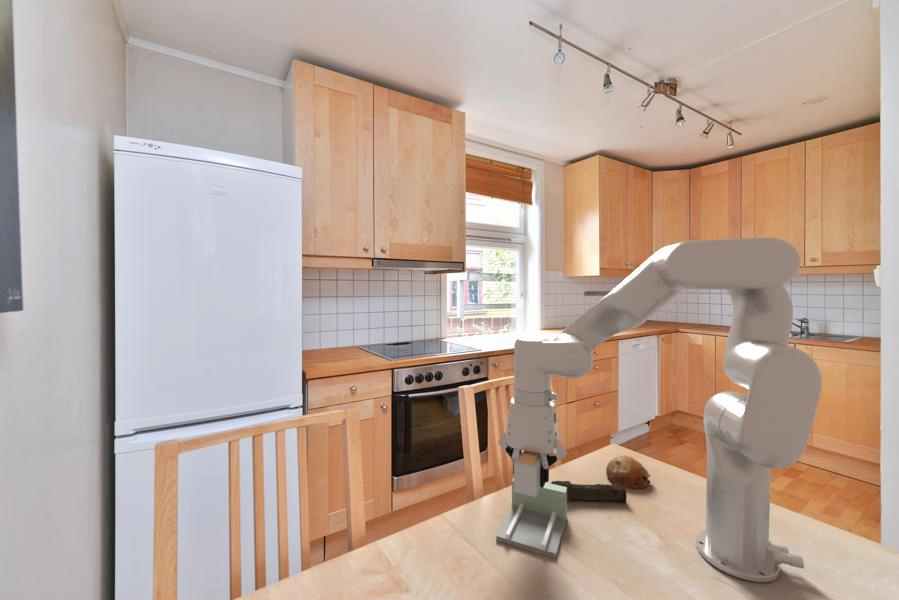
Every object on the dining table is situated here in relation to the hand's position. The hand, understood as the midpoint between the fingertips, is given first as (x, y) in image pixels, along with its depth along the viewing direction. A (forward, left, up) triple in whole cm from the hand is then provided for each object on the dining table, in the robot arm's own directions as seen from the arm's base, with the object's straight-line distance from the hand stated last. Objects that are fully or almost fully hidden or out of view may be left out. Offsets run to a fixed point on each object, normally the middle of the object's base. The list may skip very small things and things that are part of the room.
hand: (530, 480), depth 79 cm
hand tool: (-9, -17, -12) cm, 23 cm away
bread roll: (-19, -32, -12) cm, 39 cm away
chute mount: (0, -1, -11) cm, 11 cm away
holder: (0, 0, 0) cm, 0 cm away
